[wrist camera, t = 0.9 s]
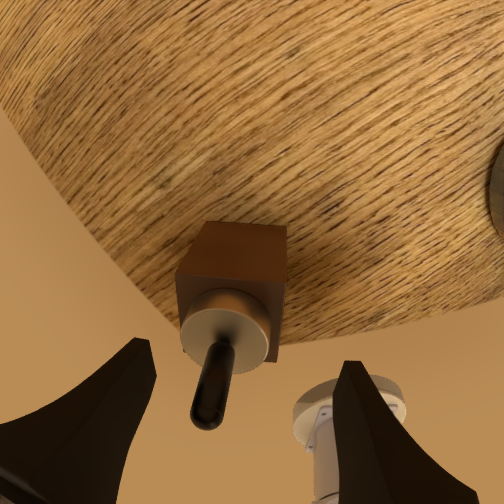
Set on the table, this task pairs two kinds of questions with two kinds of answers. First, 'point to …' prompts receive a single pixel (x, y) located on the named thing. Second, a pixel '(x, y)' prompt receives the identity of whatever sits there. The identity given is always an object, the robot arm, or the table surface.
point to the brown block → (237, 269)
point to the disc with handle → (223, 347)
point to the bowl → (497, 193)
